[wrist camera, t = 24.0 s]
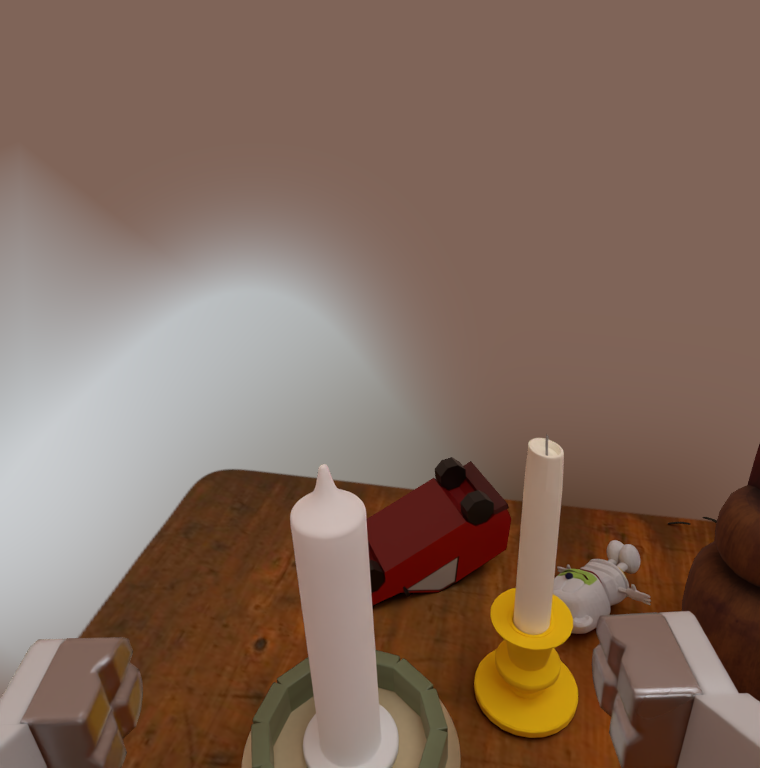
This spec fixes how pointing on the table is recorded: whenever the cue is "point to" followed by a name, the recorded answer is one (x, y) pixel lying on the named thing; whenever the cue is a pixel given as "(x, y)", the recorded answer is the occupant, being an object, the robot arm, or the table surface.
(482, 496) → the toy truck
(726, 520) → the wooden figurine
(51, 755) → the robot arm
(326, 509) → the candle
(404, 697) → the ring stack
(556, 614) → the candle
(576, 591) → the toy
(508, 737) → the table surface
